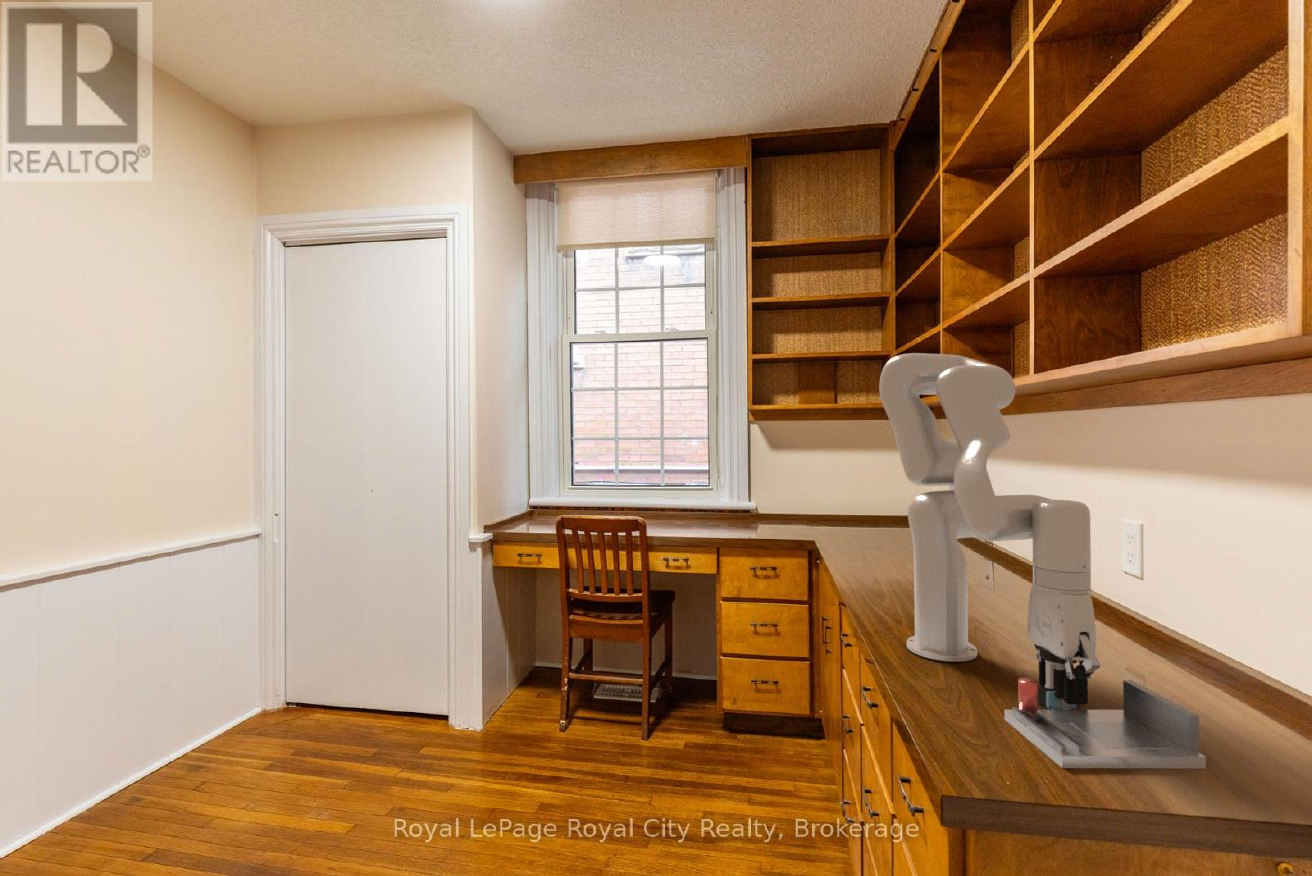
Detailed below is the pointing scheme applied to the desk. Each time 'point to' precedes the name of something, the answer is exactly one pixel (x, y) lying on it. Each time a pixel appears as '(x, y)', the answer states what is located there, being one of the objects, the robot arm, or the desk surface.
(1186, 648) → the desk surface
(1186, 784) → the desk surface
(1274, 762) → the desk surface
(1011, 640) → the desk surface
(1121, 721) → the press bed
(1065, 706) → the push button
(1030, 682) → the lever
